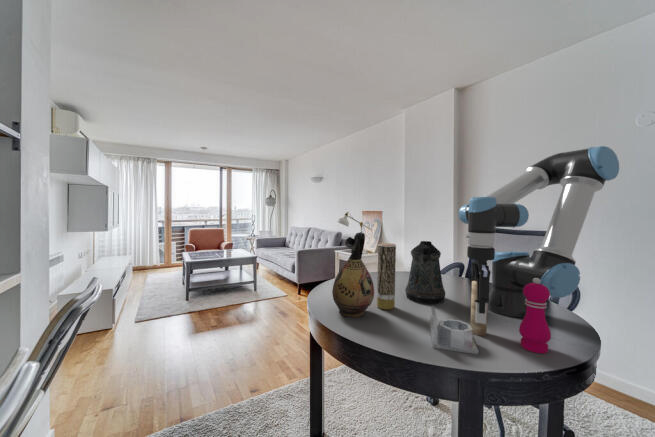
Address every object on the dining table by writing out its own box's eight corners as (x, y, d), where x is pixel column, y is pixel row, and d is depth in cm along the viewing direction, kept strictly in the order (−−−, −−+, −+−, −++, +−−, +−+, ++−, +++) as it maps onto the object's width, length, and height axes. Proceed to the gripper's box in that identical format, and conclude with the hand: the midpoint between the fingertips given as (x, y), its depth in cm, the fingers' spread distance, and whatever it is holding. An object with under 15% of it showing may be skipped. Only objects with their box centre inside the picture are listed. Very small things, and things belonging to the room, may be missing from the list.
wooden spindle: (484, 330, 90) (486, 281, 90) (488, 336, 86) (489, 285, 85) (469, 328, 92) (470, 280, 91) (471, 334, 87) (473, 283, 87)
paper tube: (393, 304, 114) (394, 243, 113) (395, 310, 107) (397, 245, 106) (376, 304, 115) (377, 243, 114) (377, 310, 108) (378, 245, 107)
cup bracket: (469, 335, 87) (470, 309, 87) (478, 354, 75) (479, 325, 75) (430, 330, 90) (430, 305, 90) (432, 347, 79) (433, 319, 78)
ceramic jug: (364, 324, 94) (366, 235, 93) (324, 315, 102) (325, 232, 101) (380, 308, 109) (382, 232, 108) (345, 302, 116) (346, 230, 115)
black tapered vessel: (433, 292, 132) (434, 239, 131) (457, 306, 113) (459, 244, 112) (399, 293, 130) (400, 239, 129) (418, 307, 111) (419, 244, 110)
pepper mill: (512, 342, 83) (515, 275, 82) (535, 341, 83) (538, 274, 83) (532, 355, 75) (535, 281, 75) (557, 354, 76) (560, 281, 75)
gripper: (462, 242, 97) (461, 308, 98) (473, 249, 81) (471, 329, 81) (487, 243, 95) (484, 311, 96) (503, 250, 78) (500, 332, 79)
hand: (478, 319), depth 89 cm, fingers closed on wooden spindle, 4 cm apart
